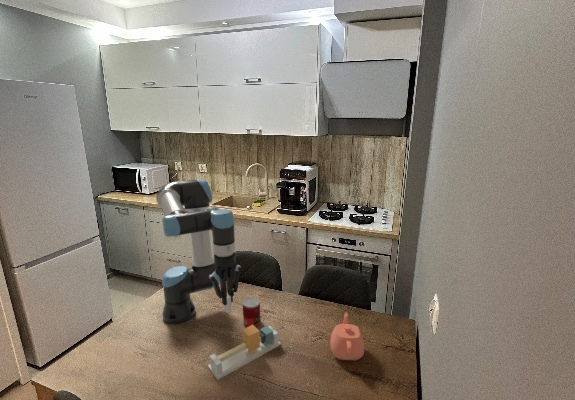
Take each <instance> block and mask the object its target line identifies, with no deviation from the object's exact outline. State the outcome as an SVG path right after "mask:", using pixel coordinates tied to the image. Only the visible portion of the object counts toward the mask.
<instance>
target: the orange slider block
mask: <svg viewBox="0 0 575 400" xmlns="http://www.w3.org/2000/svg"><path fill="white" fill-rule="evenodd" d="M241 333H242V335H241V337H242V343H244V342H246V343H247V344H248V352H249V353H250V352H252V351H254V350H256V349H257V348H259V347H260V329H258V328H257V327H255V326H254V325H251V326H249V327H245V328H243V329H241Z"/></svg>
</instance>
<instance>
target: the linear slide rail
mask: <svg viewBox="0 0 575 400" xmlns="http://www.w3.org/2000/svg"><path fill="white" fill-rule="evenodd" d="M259 331H260V347H259V348H257V349H256V350H254V351H252V352H250V353H249V352H248V344H247V343H246V342H244V343H243V342H242V343H240V344H238V345H237V346H235V347H233V348H231V349H228V350H226V351H225V352H223V353H221V354H219V355H217V354H216V353H212V354H211V355H209V364H208V365H207V367H208V369H209V370H210V371H211V373H212V374H213V376H214V378H215V379H216V380H221V379H223V378H224V377H225V376H227V375H229V374H231V373H233V372H235V371H236V370H238V369H240V368H243V366H246V365H247V364H249V363H251V362H253V361H254V360H256V359H258V358H260V357H261V356H263V355H265V354H266V353H268V352H270V351H273V350H274V349H276V348H277V347H279V346H281V344H282V343H281V342H280V340H279V332H278V331H277V330H275V329H274V328H273V326H271V325H265V326H264V327H262V328H260V329H259Z"/></svg>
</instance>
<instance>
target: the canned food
mask: <svg viewBox="0 0 575 400" xmlns="http://www.w3.org/2000/svg"><path fill="white" fill-rule="evenodd" d="M242 317H243V318H242V319H243V325H244V326H245V328H247V327H249V326H251V325H254V326H255V327H256V328H257V327H258V326H259V325H260V324H261V301H260V300H259V299H258V298H256V297H247V298H245V299H244V300H242Z"/></svg>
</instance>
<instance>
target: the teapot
mask: <svg viewBox="0 0 575 400" xmlns="http://www.w3.org/2000/svg"><path fill="white" fill-rule="evenodd" d="M343 315H344V316H343V321H342V323H338V324H336V325H335V327H334V328H333V330H332V332H331V334H330V342H329V347H330V351H331V353H332V354H333V356H334V358H336V359H337V360H339V361H341V360H343V361H353V362H356V361H358V360H360V359H361V358H362V357H363V356H364V354H365V343H364V338H363V335H362V332H361V330H360V328H359V326H358V325H355V324H350V321H349V314H348V312H347V311H346V312H344V314H343Z"/></svg>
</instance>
